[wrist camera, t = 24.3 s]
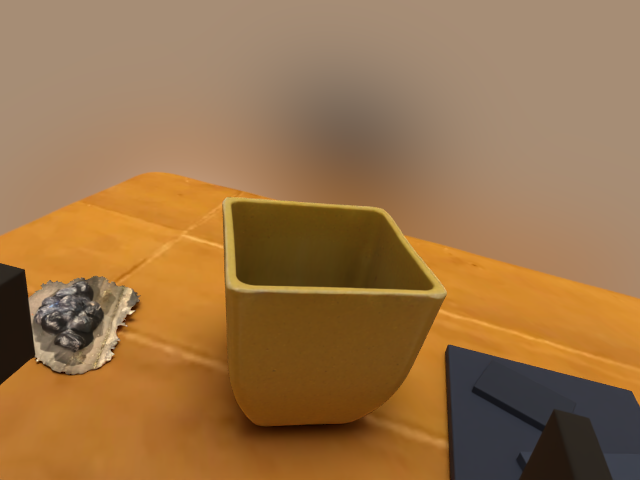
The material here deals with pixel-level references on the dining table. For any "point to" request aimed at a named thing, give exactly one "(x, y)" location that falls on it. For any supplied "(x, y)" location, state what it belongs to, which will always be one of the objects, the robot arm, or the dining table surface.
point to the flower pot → (320, 309)
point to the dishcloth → (528, 415)
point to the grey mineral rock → (78, 322)
